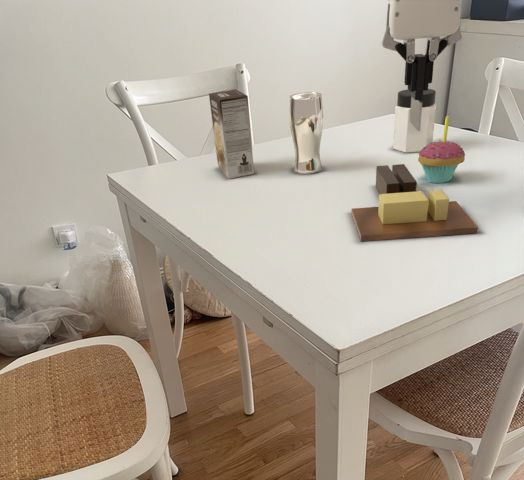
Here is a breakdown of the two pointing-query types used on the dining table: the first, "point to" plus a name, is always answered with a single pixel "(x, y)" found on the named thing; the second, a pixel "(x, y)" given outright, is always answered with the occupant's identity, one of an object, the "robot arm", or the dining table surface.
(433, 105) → the jar
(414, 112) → the knife
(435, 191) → the butter slice
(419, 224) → the board
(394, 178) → the knife block
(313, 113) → the beer glass
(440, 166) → the cupcake
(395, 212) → the butter
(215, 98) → the coffee box
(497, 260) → the dining table surface
